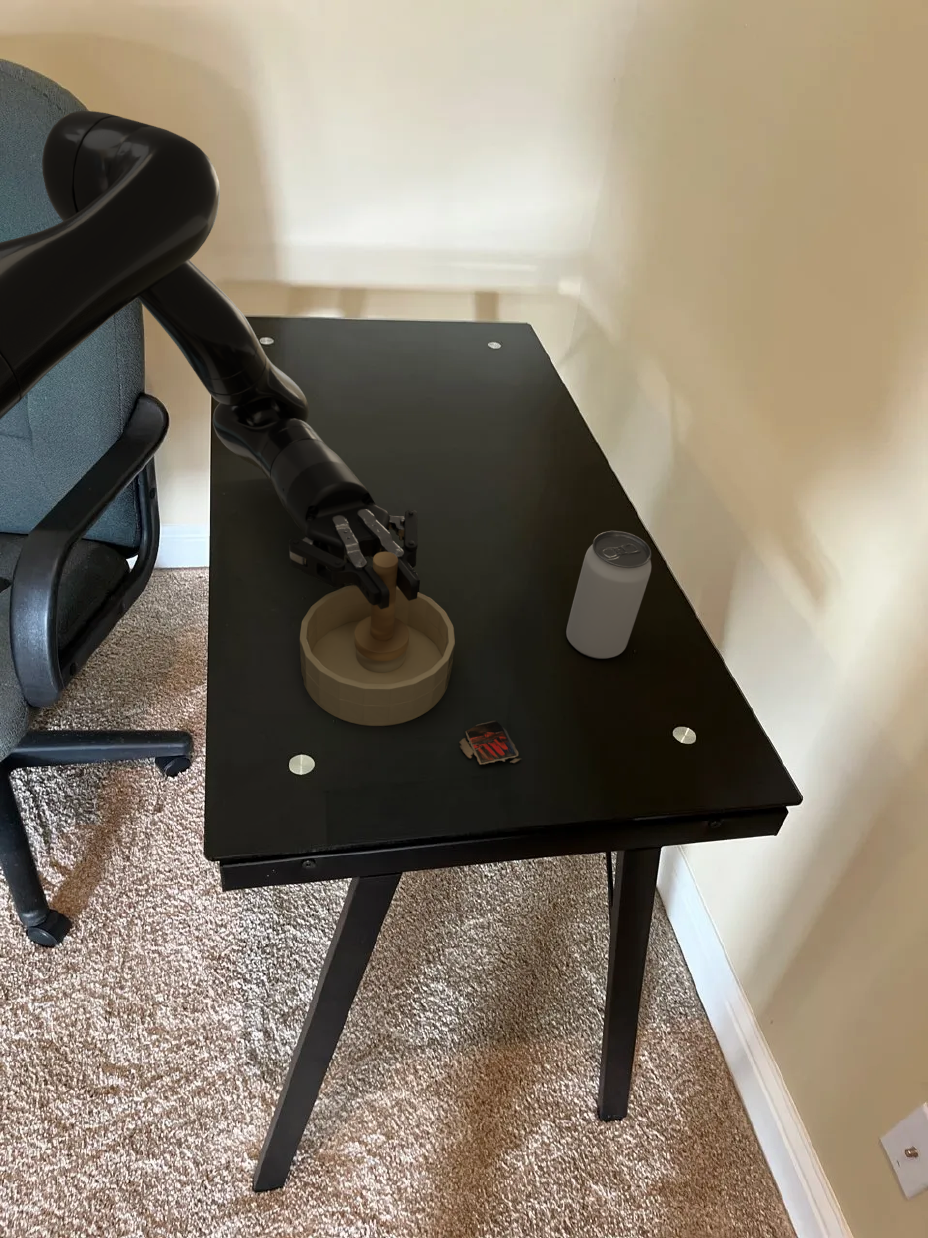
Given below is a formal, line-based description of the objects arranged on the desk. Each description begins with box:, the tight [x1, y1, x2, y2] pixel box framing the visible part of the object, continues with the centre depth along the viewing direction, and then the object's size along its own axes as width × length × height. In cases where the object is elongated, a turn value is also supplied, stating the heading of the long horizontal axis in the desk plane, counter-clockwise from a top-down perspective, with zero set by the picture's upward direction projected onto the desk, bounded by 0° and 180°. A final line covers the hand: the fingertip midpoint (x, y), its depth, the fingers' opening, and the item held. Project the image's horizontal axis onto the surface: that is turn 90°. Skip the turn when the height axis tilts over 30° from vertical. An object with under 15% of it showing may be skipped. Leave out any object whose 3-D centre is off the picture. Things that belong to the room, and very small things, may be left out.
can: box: [565, 530, 652, 660], centre depth 82 cm, size 6×6×12 cm
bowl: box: [299, 584, 456, 727], centre depth 78 cm, size 14×14×5 cm
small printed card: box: [458, 720, 522, 765], centre depth 74 cm, size 5×5×1 cm
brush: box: [354, 552, 409, 673], centre depth 77 cm, size 5×5×12 cm
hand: (400, 596), depth 72 cm, fingers closed on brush
